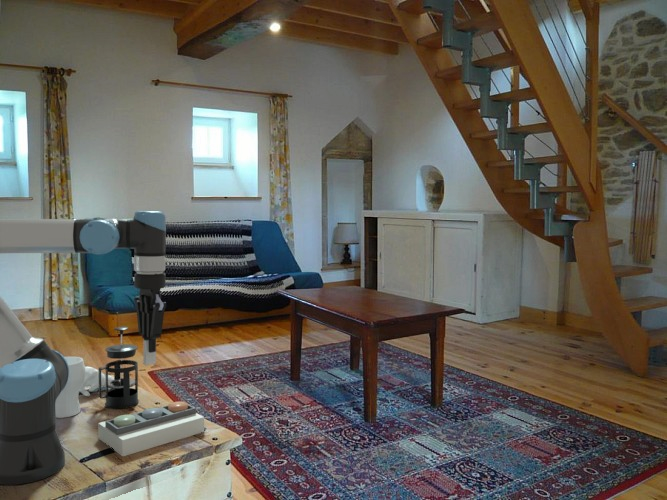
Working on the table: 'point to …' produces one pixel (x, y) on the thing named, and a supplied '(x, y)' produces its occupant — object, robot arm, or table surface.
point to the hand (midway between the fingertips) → (149, 363)
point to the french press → (122, 391)
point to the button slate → (151, 413)
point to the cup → (71, 389)
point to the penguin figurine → (93, 380)
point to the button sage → (124, 420)
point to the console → (151, 430)
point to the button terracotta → (177, 407)
